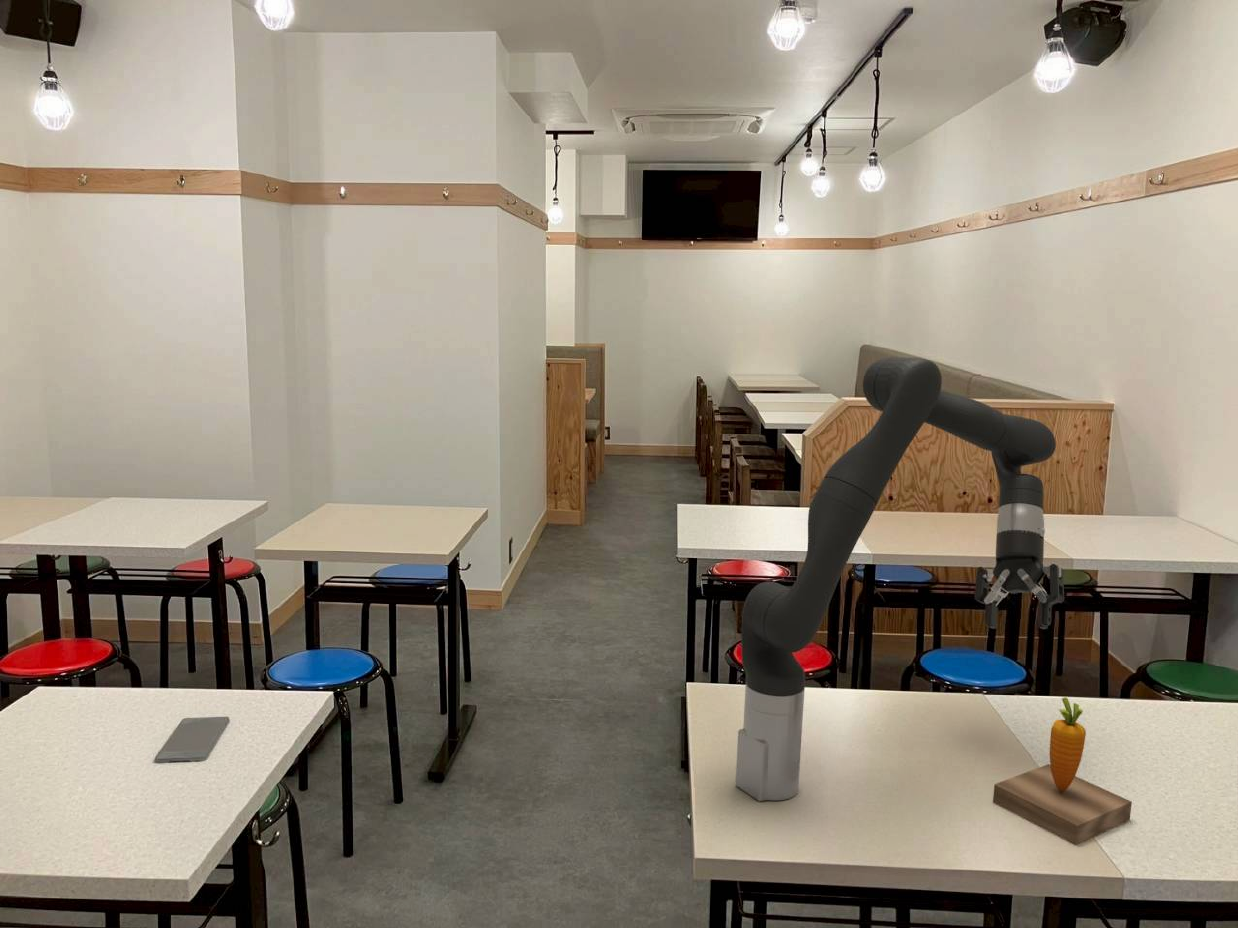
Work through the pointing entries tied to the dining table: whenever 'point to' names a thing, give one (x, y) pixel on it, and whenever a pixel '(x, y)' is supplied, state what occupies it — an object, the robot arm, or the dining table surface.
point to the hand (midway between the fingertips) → (1017, 627)
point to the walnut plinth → (1062, 804)
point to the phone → (193, 739)
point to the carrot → (1066, 746)
